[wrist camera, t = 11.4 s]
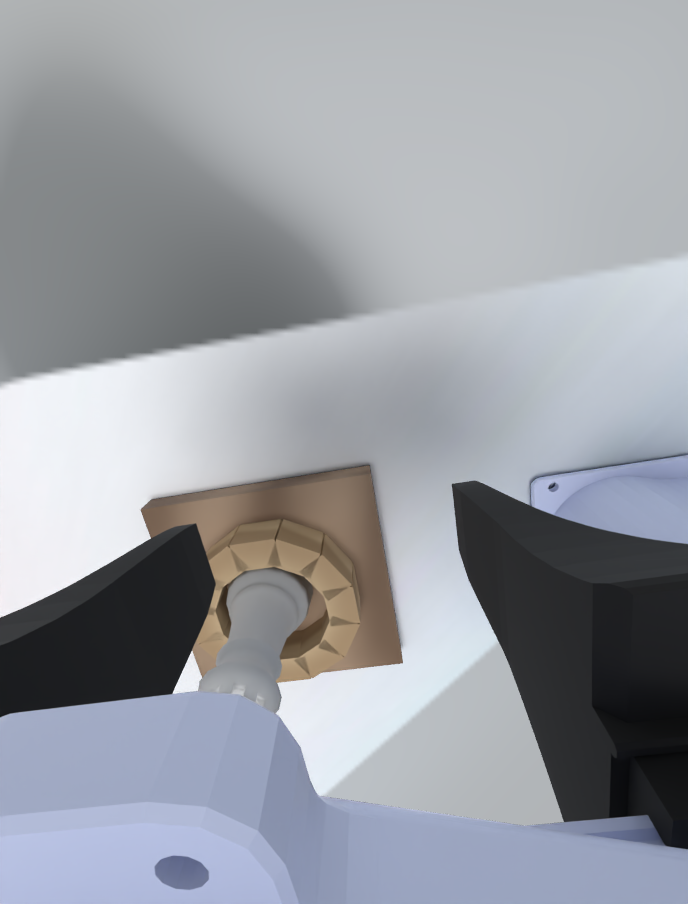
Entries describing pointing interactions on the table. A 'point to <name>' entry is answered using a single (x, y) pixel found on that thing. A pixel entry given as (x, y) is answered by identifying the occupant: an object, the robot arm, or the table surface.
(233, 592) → the rook chess piece
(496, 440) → the table surface
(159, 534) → the robot arm
